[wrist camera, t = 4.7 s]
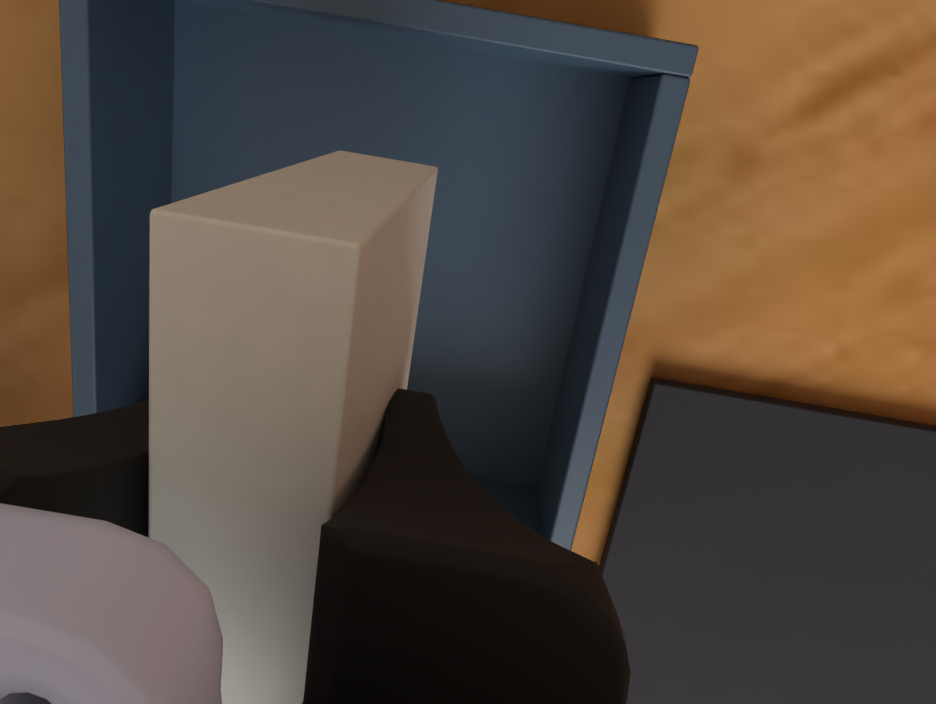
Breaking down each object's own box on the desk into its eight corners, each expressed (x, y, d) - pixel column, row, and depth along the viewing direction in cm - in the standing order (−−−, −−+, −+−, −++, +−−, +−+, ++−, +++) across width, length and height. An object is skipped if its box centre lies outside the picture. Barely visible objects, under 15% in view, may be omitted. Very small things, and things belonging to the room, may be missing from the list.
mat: (897, 900, 28) (903, 913, 28) (525, 837, 28) (525, 850, 28) (1142, 460, 21) (1157, 469, 21) (651, 376, 21) (654, 382, 21)
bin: (551, 496, 23) (561, 590, 18) (157, 428, 23) (75, 507, 18) (654, 57, 18) (700, 45, 14) (162, -29, 18) (55, -68, 14)
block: (379, 582, 16) (285, 940, 9) (298, 569, 16) (145, 917, 9) (438, 166, 12) (360, 243, 6) (337, 149, 12) (148, 207, 6)
